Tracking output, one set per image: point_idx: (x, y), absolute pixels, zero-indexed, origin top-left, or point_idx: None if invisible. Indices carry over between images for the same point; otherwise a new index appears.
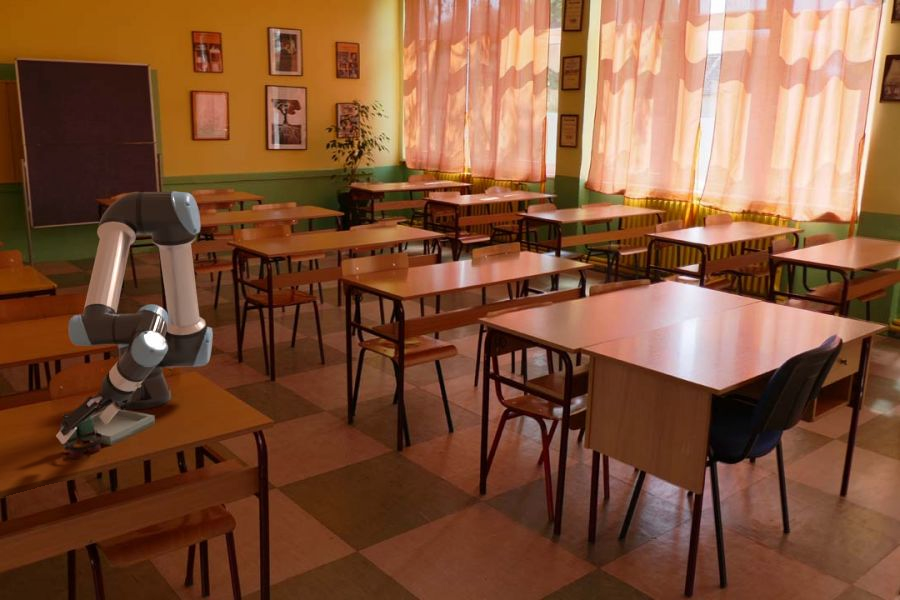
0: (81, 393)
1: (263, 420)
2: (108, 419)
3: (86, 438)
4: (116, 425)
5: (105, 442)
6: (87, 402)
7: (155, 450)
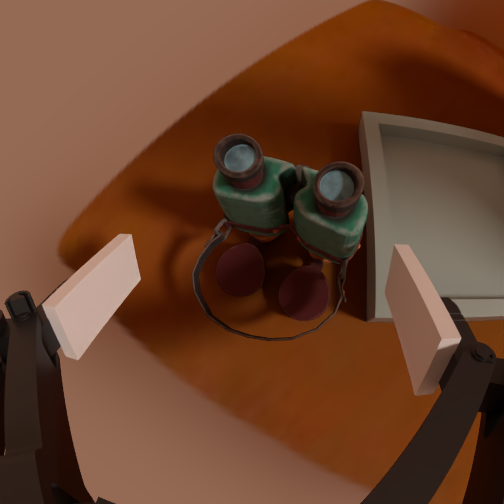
0: (497, 49)
1: None
2: (393, 313)
3: (312, 250)
4: (473, 227)
5: (368, 292)
6: None
7: None
